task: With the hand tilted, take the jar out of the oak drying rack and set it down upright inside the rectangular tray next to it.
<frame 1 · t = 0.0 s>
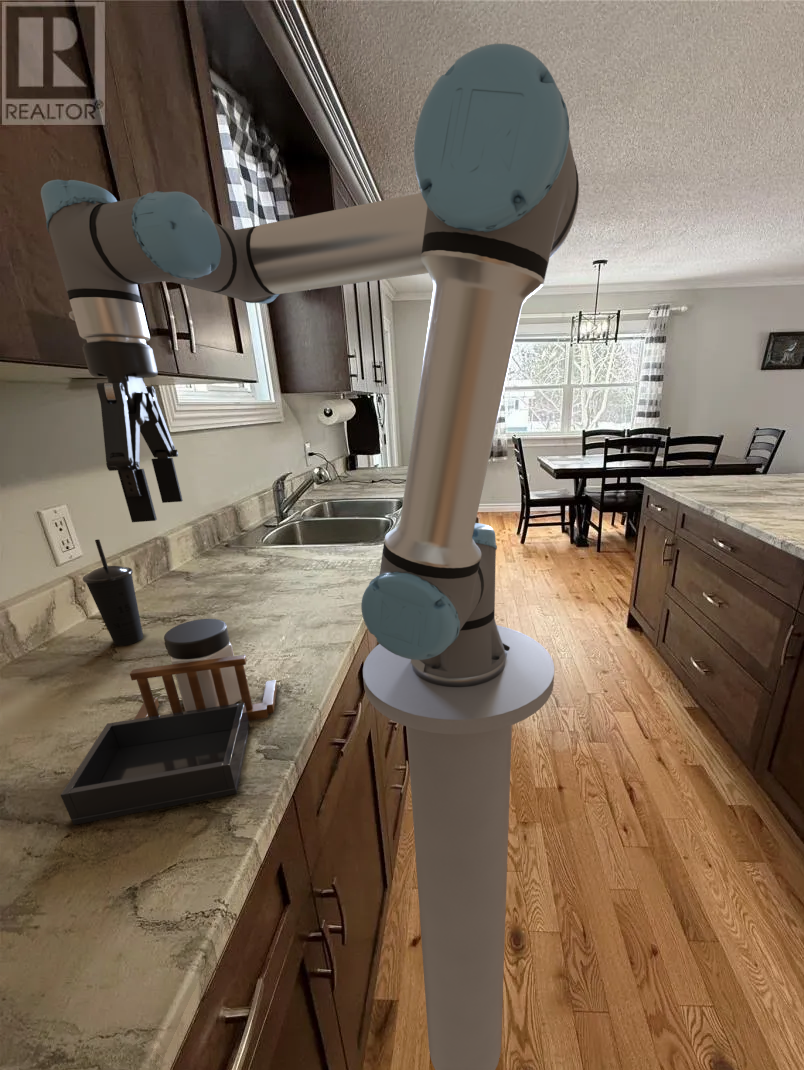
hand: (160, 510, 69), 28 cm above the worktop, tool pointing down, fingers open, 13 cm apart
drinking cup: (129, 640, 93), on the worktop
drying rack: (205, 724, 68), on the worktop
rectangular tray: (172, 770, 59), on the worktop
jar: (213, 701, 73), on the worktop
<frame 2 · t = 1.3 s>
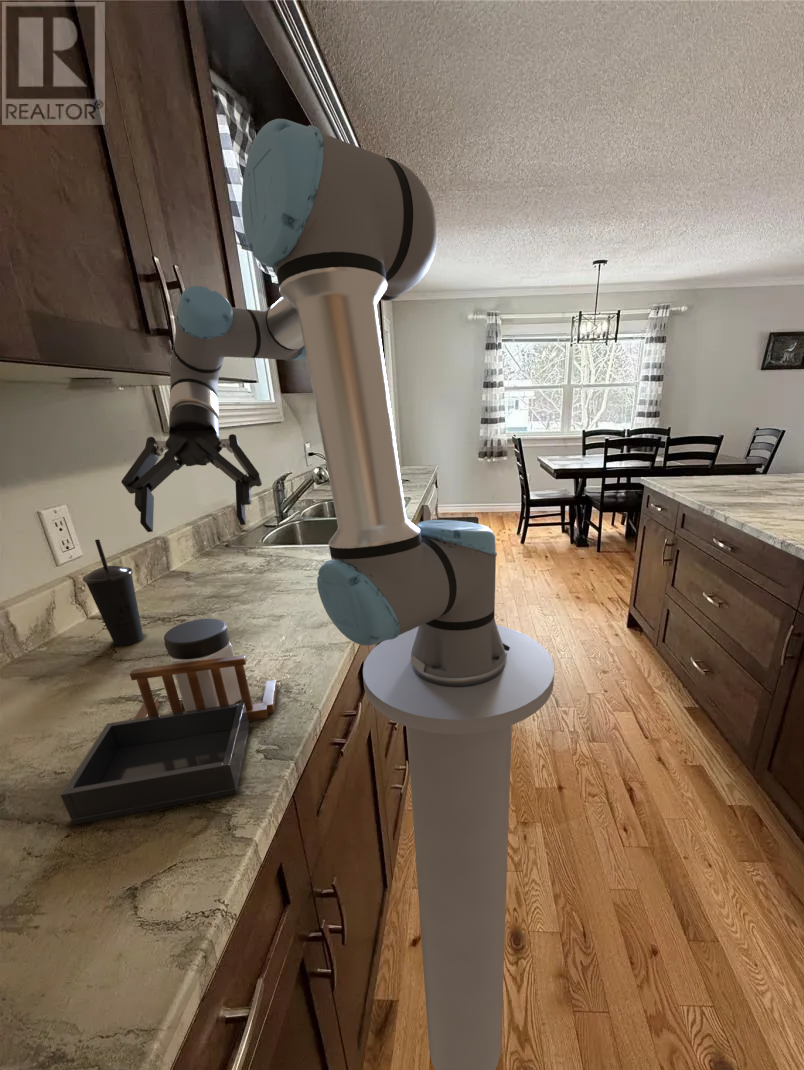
hand: (194, 524, 75), 25 cm above the worktop, tool tilted 45°, fingers open, 13 cm apart
nothing on the worktop moved.
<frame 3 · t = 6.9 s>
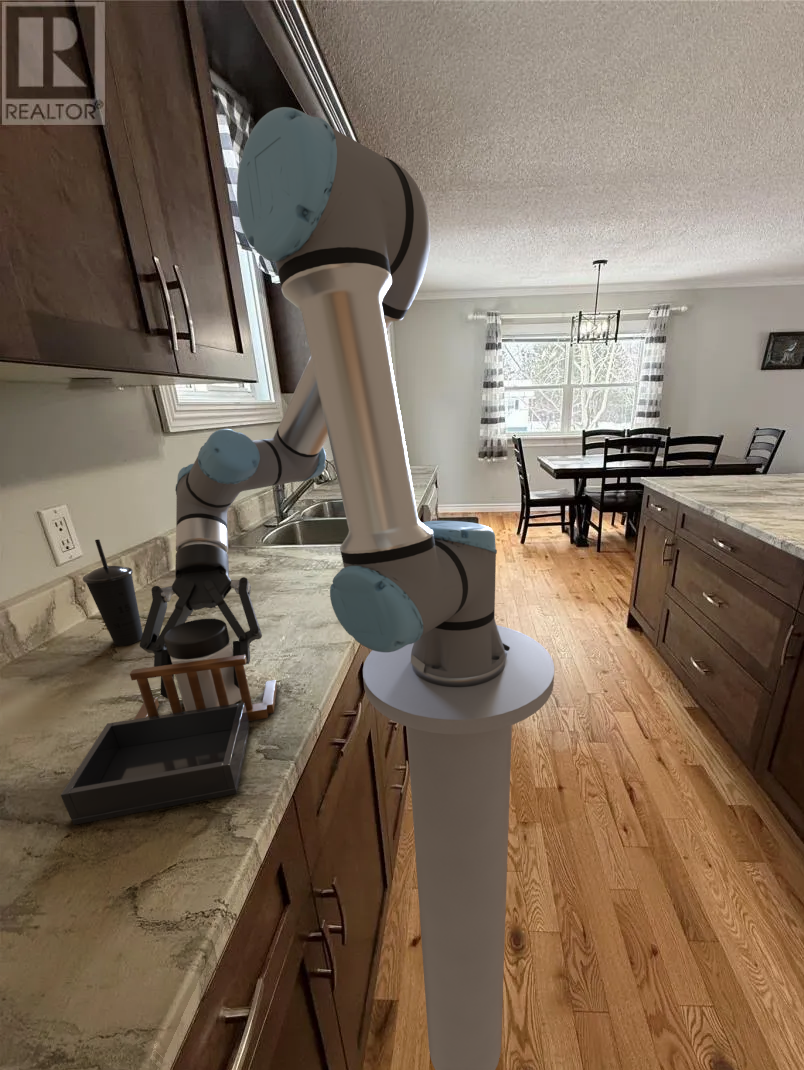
hand: (203, 691, 69), 4 cm above the worktop, tool tilted 45°, fingers closed on jar, 9 cm apart
jar: (213, 701, 73), on the worktop, touching gripper
everything else where it was.
when the fingers open (4 cm above the worktop, at t = 16.2 s): jar stays where it is, resting on rectangular tray.
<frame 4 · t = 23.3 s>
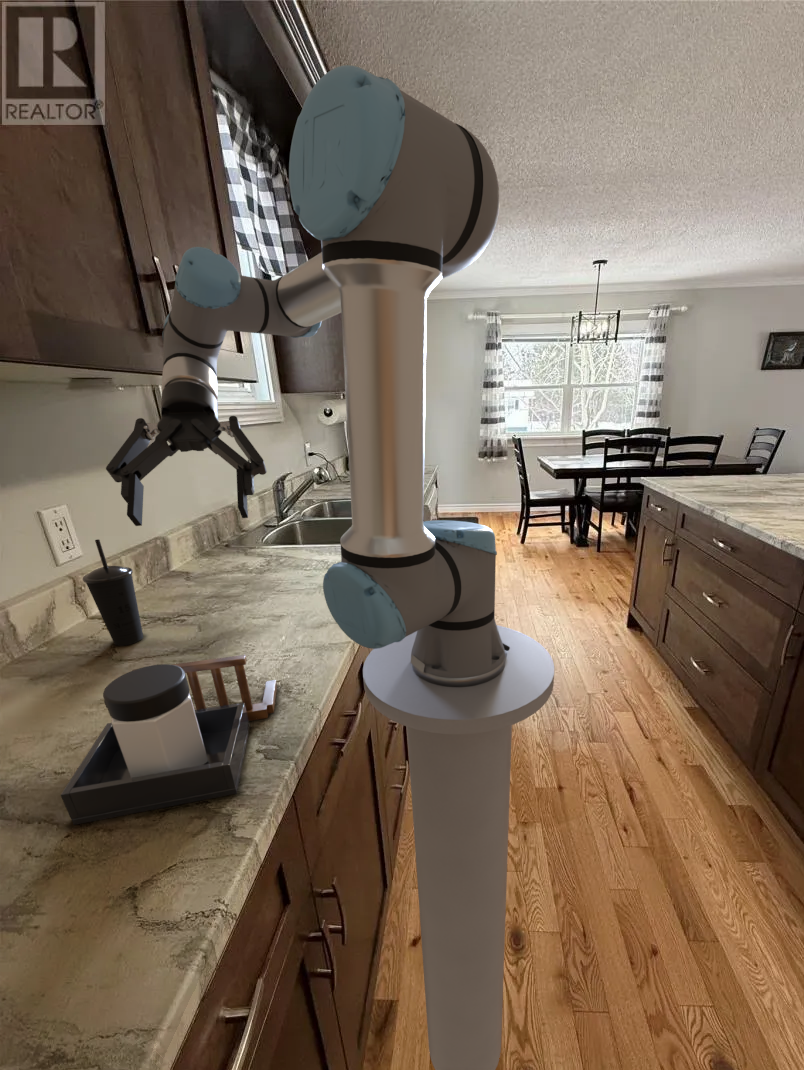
hand: (190, 516, 65), 28 cm above the worktop, tool tilted 45°, fingers open, 13 cm apart
jar: (171, 766, 59), point 1 cm above the worktop, touching rectangular tray
everything else where it was.
at the end: jar inside the target area in the rectangular tray (0.1 cm from its centre), point 0.6 cm above the rectangular tray's base; jar tilted 0°; the gripper is holding nothing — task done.
